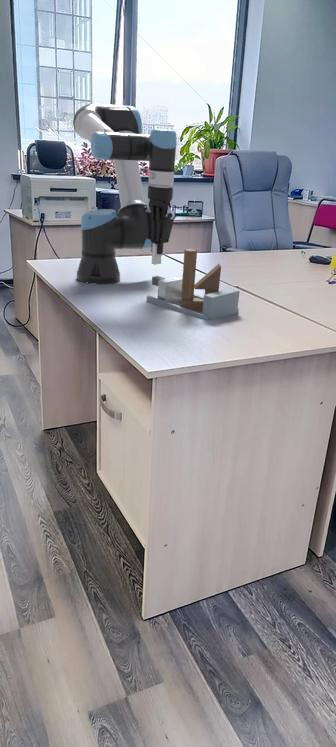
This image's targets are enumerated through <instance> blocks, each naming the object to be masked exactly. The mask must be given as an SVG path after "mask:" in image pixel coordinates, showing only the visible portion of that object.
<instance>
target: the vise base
mask: <svg viewBox="0 0 336 747" xmlns="http://www.w3.org/2000/svg"><path fill="white" fill-rule="evenodd" d="M240 293H241V292H240V290H239V289H235V288H227V289H224V290H219V292H214V293H210V294H206V295H205V294H203V296H201V295H198V294H196V293H194V298H199V299H203V300H204V301H203V311H201V312H202V313H200V312H199V311H192V310H189V309H186V308H184V307H181V306H180V305H177V304H176V303H169V302H166V301H164V300H161V299H158V297H154V296H153V295H147V296H146V302H147V303H150V304H154V305H157V306H160V307H163V308H167V309H170V310H172V311H176V312H178V313H183V314H185V315H189V316H192V317H196V318H199V319H203V320H206V321H212V320H215V319H218V318H219V319H220V318H223V317H228V316H231V315H236V314H237V313H239V310H240V309H239V302H240V301H239V298H240Z"/></svg>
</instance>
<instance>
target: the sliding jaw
mask: <svg viewBox="0 0 336 747" xmlns="http://www.w3.org/2000/svg"><path fill="white" fill-rule="evenodd" d="M151 278H152V279H151V285H152V286H156V287H157V298H158V299H161V300H164V301H166V302H169V303H172V304H176V303H180V298H181V294H182V279H183V275H179V276H174V277H173V276H172V277H168V278H166V277H163V276H160V275H155V276H152V277H151Z"/></svg>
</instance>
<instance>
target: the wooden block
mask: <svg viewBox="0 0 336 747" xmlns="http://www.w3.org/2000/svg"><path fill="white" fill-rule="evenodd" d="M183 253H184V254H183V265H182V267H183V268H182V276H183V279H182V294H181V298H180V302H179V306H181V307H184V308H186V309H189V310H192V311H195V312H203V301H204V300H203V299H199V298H194V294H195V290H202V291H204V295H206V294H210V293H214V292H219V291H220V290H219V289H220V282H221V270H222V266H221V264H220V263H217V265H216V266H214V267H213V268H212V269H211V270H210V271H208V272H207V273H206V274H205V275H204V276H202V277H201V279H199V280H198V281H197V282H196V270H197V269H196V267H197V258H198V254H197V253H198V250H197V249H196V248H195V249H194V248H186V249H184V252H183ZM195 282H196V283H195Z"/></svg>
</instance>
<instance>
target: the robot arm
mask: <svg viewBox="0 0 336 747" xmlns="http://www.w3.org/2000/svg"><path fill="white" fill-rule="evenodd" d="M72 124H73V129H74V131H75V133H76V134H77V135H78V136H79V137H80V138H81V139H83V140H87V141H88V142H89V143H90V151H91V154H92V157H93V158H94V159H96V160H103V161H107V160H108V161H109V160H113V166H114V170H115V177H116V178H115V179H116V185H117V190H118V196H119V202H120V208H119V209H118V211H116V210H115V209H111V208H109V209H107V208H102V209H101V208H100V209H93V210H89V211H86V212H84V213H83V214H82V216H81V220H80V221H81V223H80V224H81V225H80V232H81V235H80V237H81V257H80V260H79V264H78V268H77V270H76V280H77V279H78V280H77V281H79V280H80V281H79V282H81V281H84V282H88V283H87V284H90V283H96V284H95V285H110V284H109V283H111V284H114V283H115V282H116V283H118V282H120V280H121V272H120V269H119V266H118V263H117V259H116V250H124V249H125V250H130V249H131V250H136V249H138V250H143V249H151V250H150V252H151V265H154V266H156V265H161V264H162V255H163V253H164V244H166V243H169V241H170V237H171V234H172V229H173V224H174V221H175V219H176V217H177V213H176V212H173V210H172V205H171V201H172V200H173V198H174V196H173V195H174V187H172V186H174V181H175V167H176V166H175V165H176V155H177V154H176V152H177V146H178V145H177V132H176V131H175V130H174V129H168V128H167V129H166V128H165V129H164V128H153V129H151V130H150V131H151V132H150V133H143V127H142V125H143V122H142V118H141V114H140V112H139V110H138V109H137V108H136V107H134V106H132V105H127V104H121V105H120V104H111V103H110V104H109V103H108V104H107V103H98V102H96V103H95V102H93V103H88V104H85V105H83V106H81V107H80V108H78V110H76V112H75V114H74V116H73V120H72ZM139 162H148V163H149V164H148V181H147V182H148V184H149V185H148V187H147V199H148V200H149V201H148V204H147V203H146V201H145V196H144V190H143V183H142V178H141V170H140V165H139ZM84 282H83V283H84Z"/></svg>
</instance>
